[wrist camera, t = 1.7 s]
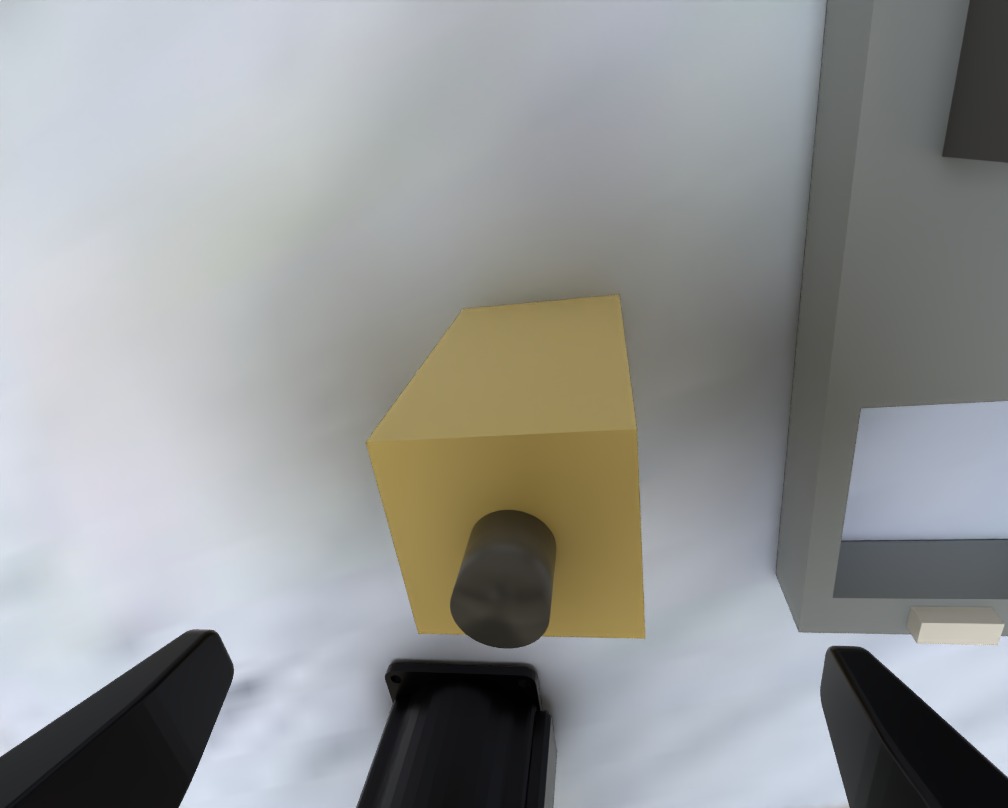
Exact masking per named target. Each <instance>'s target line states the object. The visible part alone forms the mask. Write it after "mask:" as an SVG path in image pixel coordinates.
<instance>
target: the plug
mask: <svg viewBox="0 0 1008 808" xmlns="http://www.w3.org/2000/svg"><path fill="white" fill-rule="evenodd" d="M366 445H367V448H368V452H369V456H370V459H371V463H372V467H373V470H374V474H375V477H376V481H377V485H378V488H379V492H380V496H381V499H382V503H383V507H384V510H385V514H386V518H387V521H388V525H389V528H390V532H391V536H392V539H393V543H394V547H395V550H396V554H397V558H398V561H399V565H400V569H401V572H402V576H403V579H404V583H405V587H406V590H407V594H408V598H409V601H410V605H411V609H412V612H413V616H414V620H415V623H416V627H417V630H418V634H456V635H468V636H469V637H471V638H472V639H474V640H476V641H478V642H480V643H482V644H485V645H488V646H492V647H497V648H518V647H523V646H526V645H529V644H531V643H533V642H535V641H536V640H538V639H539V638H540V637H541V636H550V637H597V638H644V639H645V618H644V593H643V567H642V542H641V517H640V492H639V467H638V442H637V425H636V418H635V410H634V402H633V395H632V387H631V380H630V372H629V364H628V357H627V349H626V342H625V334H624V326H623V319H622V311H621V304H620V296H619V294H618V295H607V296H597V297H586V298H575V299H564V300H553V301H543V302H532V303H521V304H510V305H500V306H489V307H478V308H467V309H462V311H461V312H460V314H459V315H458V316H457V318H456V319H455V320H454V322H453V323H452V325H451V326H450V327H449V329H448V330H447V331H446V333H445V334H444V336H443V337H442V338H441V340H440V341H439V342H438V344H437V345H436V346H435V348H434V349H433V351H432V352H431V353H430V355H429V356H428V357H427V359H426V360H425V362H424V363H423V364H422V366H421V367H420V368H419V370H418V371H417V373H416V374H415V375H414V377H413V378H412V379H411V381H410V382H409V383H408V385H407V386H406V388H405V389H404V390H403V392H402V393H401V394H400V396H399V397H398V399H397V400H396V401H395V403H394V404H393V405H392V407H391V408H390V410H389V411H388V412H387V414H386V415H385V416H384V418H383V419H382V420H381V422H380V423H379V425H378V426H377V427H376V429H375V430H374V431H373V433H372V434H371V436H370V437H369V438H368V440H367V441H366Z"/></svg>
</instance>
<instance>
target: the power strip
mask: <svg viewBox="0 0 1008 808" xmlns="http://www.w3.org/2000/svg"><path fill="white" fill-rule="evenodd" d="M994 401H1008V0H827V11H826V22H825V33H824V44H823V55H822V66H821V77H820V89H819V100H818V111H817V122H816V133H815V144H814V155H813V166H812V177H811V189H810V200H809V211H808V222H807V233H806V244H805V255H804V266H803V277H802V288H801V300H800V311H799V322H798V333H797V344H796V355H795V366H794V377H793V388H792V400H791V411H790V422H789V433H788V444H787V455H786V466H785V477H784V488H783V500H782V511H781V522H780V533H779V544H778V555H777V566H776V576H777V579H778V581H779V584H780V586H781V589H782V591H783V594H784V596H785V599H786V601H787V604H788V606H789V609H790V611H791V614H792V616H793V619H794V621H795V624H796V626H797V629H798V632H811V633H865V634H911V635H912V636H913V638H914V640H915V641H916V643H917V644H961V645H998V643H999V640H1000V637H1001V636H1008V540H937V541H841V538H842V531H843V525H844V518H845V511H846V504H847V498H848V491H849V484H850V478H851V471H852V464H853V457H854V451H855V444H856V437H857V431H858V424H859V417H860V410H861V408H876V407H896V406H915V405H935V404H955V403H974V402H994Z"/></svg>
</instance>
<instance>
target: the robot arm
mask: <svg viewBox="0 0 1008 808" xmlns="http://www.w3.org/2000/svg"><path fill="white" fill-rule="evenodd" d="M233 675H234V667H233V663H232V661H231V659H230V656H229V654H228V652H227V650H226V648H225V646H224V644H223V642H222V640H221V638H220V636H219V634H218V633H217V632H216V631H214V630H199V629H195V630H189V631H187V632H185V633H184V634H182V635H181V636H179V637H178V638H176V639H175V640H173V641H172V642H170V643H169V644H167V645H166V646H164V647H163V648H161V649H160V650H158V651H157V652H155V653H154V654H152V655H151V656H149V657H148V658H146V659H145V660H143V661H142V662H140V663H139V664H138V665H136V666H135V667H133V668H132V669H130V670H129V671H127V672H126V673H124V674H123V675H121V676H120V677H118V678H117V679H115V680H114V681H112V682H111V683H109V684H108V685H106V686H105V687H103V688H102V689H100V690H99V691H97V692H96V693H94V694H93V695H92V696H90V697H89V698H87V699H86V700H84V701H83V702H81V703H80V704H78V705H77V706H75V707H74V708H72V709H71V710H69V711H68V712H66V713H65V714H63V715H62V716H60V717H59V718H57V719H56V720H54V721H53V722H51V723H50V724H48V725H47V726H46V727H44V728H43V729H41V730H40V731H38V732H37V733H35V734H34V735H32V736H31V737H29V738H28V739H26V740H25V741H23V742H22V743H20V744H19V745H17V746H16V747H14V748H13V749H11V750H10V751H8V752H7V753H5V754H4V755H2V756H1V757H0V808H179V806H180V804H181V802H182V800H183V798H184V796H185V793H186V791H187V789H188V787H189V785H190V783H191V781H192V778H193V776H194V774H195V771H196V769H197V767H198V764H199V762H200V760H201V757H202V755H203V752H204V750H205V747H206V745H207V742H208V740H209V737H210V735H211V732H212V730H213V727H214V725H215V722H216V720H217V717H218V715H219V712H220V710H221V707H222V705H223V702H224V700H225V697H226V695H227V692H228V690H229V688H230V685H231V682H232V679H233ZM385 680H386V683H387V686H388V689H389V692H390V695H391V698H392V701H393V705H392V708H391V711H390V714H389V717H388V719H387V722H386V725H385V728H384V731H383V734H382V736H381V739H380V742H379V745H378V748H377V751H376V753H375V756H374V759H373V762H372V765H371V768H370V770H369V773H368V776H367V779H366V782H365V785H364V787H363V790H362V793H361V796H360V799H359V802H358V804H357V807H356V808H553V805H554V790H555V774H556V759H557V749H556V743H555V736H554V729H553V723H552V716H551V715H550V714H549V713H548V711H547V710H543V709H542V703H541V697H540V690H539V684H538V678H537V674H536V672H535V671H533V670H532V669H530V668H526V667H507V666H476V665H445V664H414V663H393V664H391V665H389V667H388V669H387V672H386V675H385ZM820 696H821V703H822V708H823V711H824V715H825V719H826V722H827V726H828V730H829V733H830V737H831V741H832V744H833V748H834V752H835V755H836V759H837V763H838V766H839V770H840V774H841V777H842V781H843V785H844V788H845V792H846V796H847V799H848V803H849V807H850V808H1008V777H1007V776H1006V775H1005V774H1004V773H1002V772H1001V771H1000V770H999V769H998V768H997V767H996V766H995V765H994V764H993V763H991V762H990V761H989V760H988V759H987V758H986V757H985V756H984V755H983V754H981V753H980V752H979V751H978V750H977V749H976V748H975V747H974V746H973V745H972V744H970V743H969V742H968V741H967V740H966V739H965V738H964V737H963V736H962V735H960V734H959V733H958V732H957V731H956V730H955V729H954V728H953V727H952V726H951V725H949V724H948V723H947V722H946V721H945V720H944V719H943V718H942V717H941V716H940V715H938V714H937V713H936V712H935V711H934V710H933V709H932V708H931V707H930V706H928V705H927V704H926V703H925V702H924V701H923V700H922V699H921V698H920V697H919V696H917V695H916V694H915V693H914V692H913V691H912V690H911V689H910V688H909V687H907V686H906V685H905V684H904V683H903V682H902V681H901V680H900V679H899V678H898V677H896V676H895V675H894V674H893V673H892V672H891V671H890V670H889V669H888V668H887V667H885V666H884V665H883V664H882V663H881V662H880V661H879V660H878V659H877V658H875V657H874V656H873V655H872V654H871V653H870V652H869V651H867V650H866V649H864V648H862V647H856V646H831V647H829V648H828V650H827V652H826V655H825V661H824V668H823V674H822V680H821V687H820Z"/></svg>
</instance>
